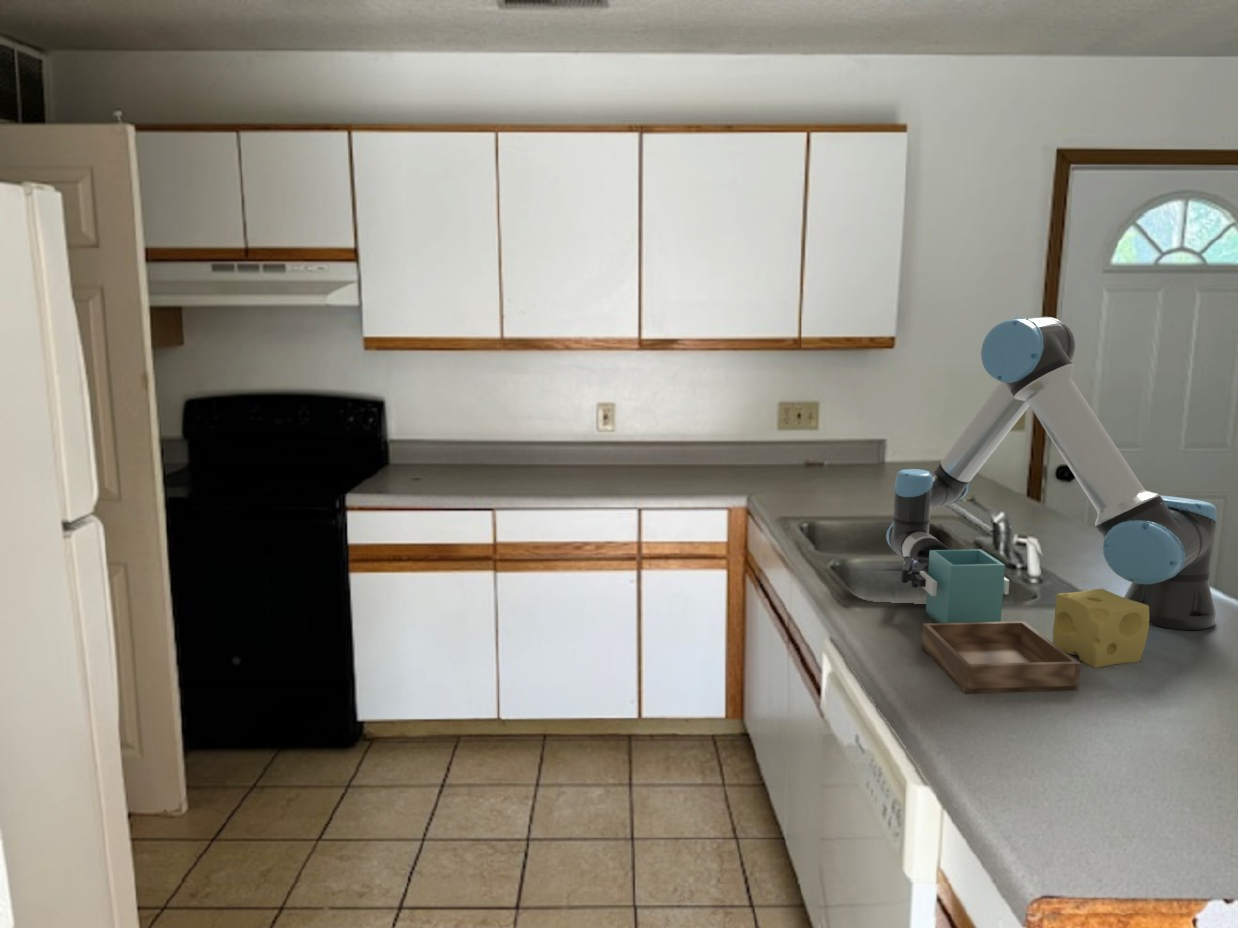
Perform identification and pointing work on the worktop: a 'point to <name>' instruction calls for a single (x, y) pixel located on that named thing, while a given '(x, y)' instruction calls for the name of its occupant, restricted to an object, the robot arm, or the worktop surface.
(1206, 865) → the worktop surface
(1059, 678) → the walnut crate
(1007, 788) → the worktop surface
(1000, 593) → the teal crate
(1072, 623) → the cheese
